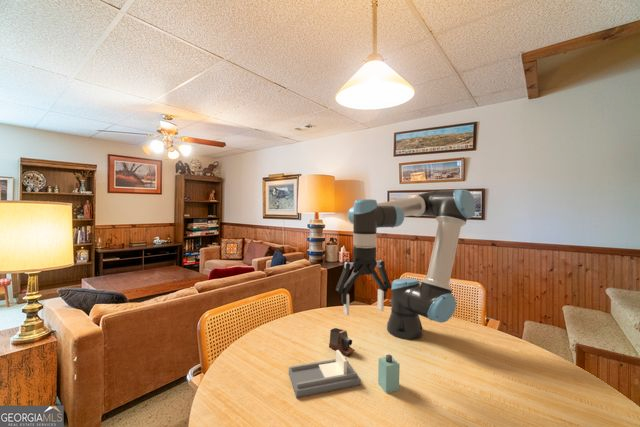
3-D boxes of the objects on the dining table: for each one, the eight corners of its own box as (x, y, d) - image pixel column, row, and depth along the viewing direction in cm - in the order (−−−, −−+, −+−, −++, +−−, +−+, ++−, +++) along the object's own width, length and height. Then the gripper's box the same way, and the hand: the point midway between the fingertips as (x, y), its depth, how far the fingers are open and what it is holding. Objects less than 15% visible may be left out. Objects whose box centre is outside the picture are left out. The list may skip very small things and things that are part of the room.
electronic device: (347, 357, 99) (347, 336, 99) (328, 347, 106) (328, 328, 106) (354, 353, 102) (355, 333, 102) (335, 344, 109) (336, 325, 109)
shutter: (338, 363, 91) (338, 349, 91) (346, 375, 85) (346, 361, 85) (318, 366, 89) (318, 352, 89) (325, 379, 83) (325, 364, 82)
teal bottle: (390, 381, 86) (391, 351, 85) (399, 390, 81) (399, 358, 81) (378, 383, 84) (378, 353, 84) (385, 393, 80) (386, 361, 80)
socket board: (345, 363, 95) (345, 355, 95) (360, 385, 83) (360, 375, 83) (288, 373, 89) (288, 364, 89) (296, 398, 77) (296, 387, 77)
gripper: (390, 243, 97) (389, 304, 97) (326, 245, 89) (325, 311, 90) (402, 246, 89) (401, 311, 90) (334, 249, 82) (333, 320, 83)
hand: (363, 311), depth 90 cm, fingers open, 12 cm apart
